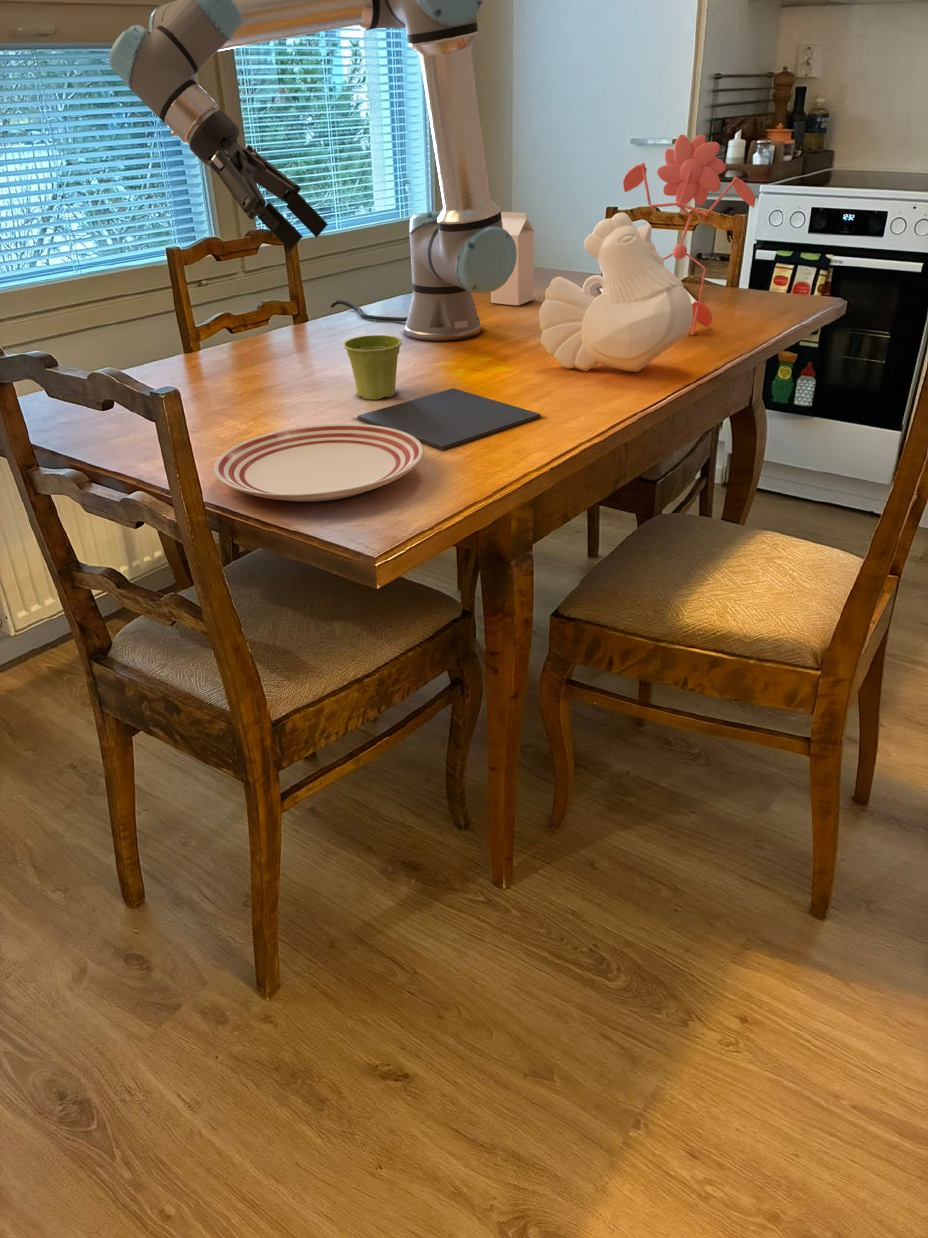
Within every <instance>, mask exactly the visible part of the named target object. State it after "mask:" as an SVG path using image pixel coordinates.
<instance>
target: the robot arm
mask: <svg viewBox="0 0 928 1238" xmlns="http://www.w3.org/2000/svg"><path fill="white" fill-rule="evenodd" d="M483 3H484V0H174V1H168V2H167V1H166V2H163V3H160V5H158V6H157V7H156V8H155V9H154V10H153V12H152V13H151V15H150V17H149V21H148V29H146V28H145V27H144V26H143V25H141V24H134V25H131V26H130V27H129V28H128V29H125V30H123V32H121V34H119V35H118V37H117V38H116V40H115V41H114V42H113V45H112V47H111V49H110V51H109V55H108V56H109V57H108V60H109V64H110V67H111V69H112V70H113V71H114V72H115V73H116V74H117V76H118V77H119V78H120V79H121V80H122V82H124V84H126V86H127V87H128V88H129V91H131V92H133V94H135V96H137V98H139V100H141V101H142V102H143V104H145V106H147V107H148V109H150V110H151V111H152V112H153V113H154V115H156V116H157V117H158V119H160V120H161V121H162V122H163V123H164V124H165V125H166V126H167V128H169V129H170V130H171V131H170V135H171V136H172V137H174V138H176V137H177V138H179V140H180V141H182V143H183V144H185V145H189V147H188V148H189V150H190V152H191V153H193V155H194V156H195V157H197V158H198V160H199V161H200V162H201V163H203V165H204V166H207V167H210V168H211V169H212V170H213V171H214V172H215V173H216V175H218V177H219V178H220V180H221V181H222V183H223V184H224V186H225V187H226V188H227V189H228V192H229V193H230V194H231V195H232V197H233V199H234V200H235V201H236V202H237V204H238V205H239V206H240V208H241V210H242V212H244V214H246V217H248V218H249V219H250V220H251V221H254V220H255V218H258V220H259V221H261V222H262V224H263V225H265V227H266V228H267V229H268V230H269V231H270V232H271V233H272V234H273V235H274V236H275V237H276V238H277V239H278V240H279V241H280V242H281V243H282V244H283V245H284V246H285V247H286V248H287V249H288V250H289V251H292V250H293V249H294V248H295V247H296V245H298V243H299V242H300V241H301V240H302V238H304V236H303V234H301V233H300V232H299V231H298V230H297V228H295V227H294V225H293V224H292V223H291V222H290V221H289V220H288V219H287V218H286V217H285V216H284V215H283V214H282V213H281V212H280V211H279V210H278V209H277V208H276V207H275V206H274V204H272V202H267V201H266V199H265V198H264V196H263V194H262V192H261V190H260V189H259V187H258V186H260V187H261V188H263V189H265V190H266V191H267V192H269V193H270V194H272V195H273V196H275V197H276V198H278V199H279V200H281V201H282V202H284V203H286V206H285V207H286V208H287V209H288V210H289V211H290V212H291V213H292V214H293V215H294V217H296V218H297V219H298V220H299V221H300V222H301V224H302V225H303V226H304V227H305V228H306V229H307V230H308V231H309V232H310V233H311V234H312V235H313V236H314V237H315V238H318V237H320V235H321V233H322V232H324V230H325V229H326V228H327V226H328V224H329V223H327V221H326V220H325V219H324V218H323V217H322V216H321V215H320V214H319V213H318V212H317V211H316V209H314V208H313V207H312V206H311V205H310V204H309V203H308V202H307V200H306V199H304V197H303V196H302V195H301V194H300V191H301V190H302V187H301V186H300V185H299V184H296V183H295V182H294V181H292V180H291V178H289V177H287V176H286V175H285V174H284V173H283V172H281V171H280V170H278V168H277V167H275V166H274V165H273V164H272V163H270V162H269V161H267V159H265V158H264V157H263V156H262V155H260V153H258V151H256V150H255V149H254V148H253V146H252V145H250V144H247V145H246V146H245V147H243V146H242V145H240V144H239V143H238V138H239V136H240V132H241V131H240V130H241V129H240V127H239V125H238V124H236V122H235V121H234V120H233V119H232V118H231V117H230V116H229V115H228V114H227V113H226V112H225V111H224V110H220V107H219V104H218V103H217V102H216V101H215V100H214V99H213V98H212V97H211V96H210V95H209V94H208V93H207V91H206V90H204V89H203V88H202V86H201V85H199V83H197V82H196V80H194V79H193V77H194V76H195V75H196V74H198V72H199V70H201V68H203V67H204V66H205V64H206V63H207V62H208V61H210V59H211V58H213V57H214V55H215V54H216V53H217V52H221V51H225V50H231V49H236V48H241V47H246V46H247V47H249V46H253V45H257V44H263V43H268V42H275V41H280V40H284V39H285V40H286V39H289V38H296V37H300V36H306V35H311V34H317V33H322V32H327V31H332V30H337V29H343V28H349V27H355V26H356V27H357V28H358V29H359V30H361V31H363V32H365V31H371V30H376V29H405V31H406V37H407V44H408V47H409V48H411V50H413V51H414V52H415V53H416V54H417V55H418V56H419V61H420V67H421V73H422V80H423V86H424V87H423V88H424V93H425V99H426V106H427V111H428V118H429V123H430V125H429V126H430V131H431V136H432V144H433V150H434V154H435V155H434V156H435V163H436V168H437V174H438V182H439V187H440V195H441V201H442V210H440V211H429V212H419V213H413V214H412V216H411V217H410V219H409V231H408V237H409V247H410V248H409V249H410V264H411V267H410V268H411V283H412V296H411V301H410V304H409V310H408V315H407V316H401V317H400V316H379V315H371V314H367V313H364V311H363V310H362V308H361V307H359V306H357V305H354V304H353V303H350V302H348V301H346V300H342V299H337V300H334V301H332V302H331V304H330V305H329V308H334V307H336V306H337V305H344V306H345V307H348V308H350V309H352V310H354V311H357V312H358V315H359V316H360V317H361V318H364V319H367V320H372V321H380V322H381V321H383V322H405V326H404V328H405V335H406V336H408V337H409V338H412V339H416V340H421V341H429V342H448V341H449V342H450V341H457V340H464V339H469V338H472V337H475V336H477V335H479V334H480V333H481V331H482V330H481V320H480V319H481V318H480V317H479V315H478V311H477V308H476V305H475V301H474V298H473V295H472V293H478V294H489V293H491V292H493V291H495V290H497V289H499V288H500V287H501V286H503V285H504V284H505V283H506V282H507V280H508V278H509V277H510V275H511V274H512V273H513V270H514V268H515V264H516V259H517V249H516V245H515V242H514V240H513V238H512V236H511V235H510V234H509V233H508V232H507V231H506V230H505V229H503V226H502V218H501V212H502V210H501V207H500V206H499V205H498V204H497V203H495V202H494V201H493V200H492V198H491V193H490V185H489V178H488V177H489V175H488V170H487V162H486V154H485V146H484V138H483V131H482V124H481V123H482V122H481V116H480V109H479V108H480V107H479V99H478V92H477V85H476V77H475V69H474V63H473V56H472V55H473V54H472V45H473V43H474V41H475V40H476V38H477V36H478V34H479V29H478V22H477V21H478V19H477V15H478V13H479V11H480V9H481V6H482V4H483Z"/></svg>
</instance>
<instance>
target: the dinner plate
mask: <svg viewBox="0 0 928 1238" xmlns="http://www.w3.org/2000/svg"><path fill="white" fill-rule="evenodd" d="M424 451H425V449H424V445H423V444H422V442H419V440H417V439H416V438H415V437H413V436H412V435H410V434H407V433H405V432H402V431H399V430H396V429H392V428H387V427H382V426H375V425H372V424H362V423H327V424H313V425H305V426H297V427H290V428H286V429H281V430H277V431H273V432H269V433H265V434H262V435H259V436H256V437H252V438H250V439H247V440H245V441H242V442H240V443H238V444H236V445H234V446H232V447H231V448H229V449H227V450H226V451H224V452H223V453H222V454H221V455H220V456H219V457H218V458H217V459H216V460H215V462H214V465H213V474H214V476H215V478H216V479H217V480H218V481H219V482H220V483H222V484H224V485H225V486H227V487H230V488H231V489H234V490H236V491H239V492H241V493H244V494H247V495H250V496H255V497H259V498H265V499H270V500H278V501H288V502H294V503H295V502H297V503H317V502H327V501H328V502H329V501H336V500H341V499H345V498H350V497H354V496H357V495H360V494H364V493H366V492H368V491H369V492H370V491H372V490H375V489H378V488H380V487H383V486H385V485H386V486H387V485H388V484H390V483H392V482H394V481H396V480H398V479H400V478H401V477H403V476H405V475H407V474H408V473H409V472H411V471H413V469H414V468H416V467H417V465H418V464H419V463H420V462H421V461H422V458H423V457H424V453H425V452H424Z"/></svg>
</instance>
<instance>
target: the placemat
mask: <svg viewBox="0 0 928 1238" xmlns="http://www.w3.org/2000/svg"><path fill="white" fill-rule="evenodd" d="M541 416H542V415H541V413H538V412H535V411H531V410H528V409H525V408H522V407H519V406H515V405H512V404H508V403H505V402H502V401H499V400H495V399H491V398H488V397H486V396H485V397H484V396H481V395H478V394H474V393H471V392H467V391H465V390H461V389H458V388H455V387H452V388H449V389H445V390H441V391H439V392H434V393H432V394H428V395H425V396H421V397H418V398H414V399H411V400H407V401H403V402H400V403H397V404H393V405H390V406H386V407H383V408H378V409H376V410H372V411H369V412H365V413H362V414H358V415H357V418H356V419H357V420H359V421H361V422H364V423H367V424H368V425H374V426H382V427H387V428H392V429H396V430H399V431H402V432H405V433H407V434H410V435H412V436H413V437H415V438H416V439H417V440H419V442H420V443H421V444H422V443H423V444H424V445H427V446H431V447H433V448H436V449H438V450H441V451H444V450H447V449H451V448H454V447H456V446H459V445H460V446H461V445H463V444H465V443H469V442H472V441H475V440H477V439H481V438H484V437H486V436H490V435H493V434H497V433H499V432H501V431H505V430H507V429H510V428H513V427H516V426H520V425H522V424H526V423H528V422H531V421H535V420H537V419H540V418H541Z"/></svg>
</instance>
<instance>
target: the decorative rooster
mask: <svg viewBox="0 0 928 1238" xmlns="http://www.w3.org/2000/svg"><path fill="white" fill-rule="evenodd" d="M652 229H653V227H652V225H651V224H646V225H642V226H639V227H638V226H635V225H634V223H633V221H632V219H631V217H630V216H629V214H627V213H626V212H623V211H622V212H621V211H620V212H617V213H615V214H613V216H612V217H611V218H604V219H602V220H600V221H598V223H597V224H596V225H595V226H594V228H593V230H592V233H590V234H588V235H587V236H586V237H585V239H584V243H583V247H584V251H586V253H587V254H588V255H590V256H591V257H592V258H594V259H596V260H597V262H598V265H599V268H600V272H601V274H602V275H601V274H594V275H591V276H589V277H587V279H585V280H584V283H583V284H582V288H581V287H580V286H579V285H577V284H576V283H575V282H573V281H571V280H569V279H567V278H565V277H562V276H556V277H554V278H553V279H551V281H550V283H549V286H548V287H547V288H546V289H545V291H544V298H545V300H544V301H543V302H542V303H541V305H540V308H539V311H538V318H539V329H540V330H541V334H540V345H541V346H542V347H543V348H544V349H545V350H546V352H547V353H548V355H550V356H551V357H553V358H554V360H555V361H557V362H558V363H559V364H560V366H562V367H563V368H565V369H574V368H577V369H578V370H580V371H583V372H588V371H590V369H594V368H595V367H597V366H599V364H600V365H603V366H606V367H608V368H609V367H610V368H612V369H616V370H621V371H625V372H634V373H636V372H637V373H638V372H639V371H641V370H642V369H644V368H645V367H646V366H648V365H649V364H650V363H651V362H653V361H654V360H655V359H657V358H658V357H660V355H662V354H663V353H664V352H666V351H667V350H669V349H670V348H671V347H673V346H675V345H676V344H677V343H679V342H680V341H682V340H683V339H685V338H686V337H687V336H688V334H689V332H690V329H691V327H692V324H693V319H694V318H693V317H694V316H693V308H692V303H691V300H690V297H689V295H688V293H689V292H688V290H687V289H686V288H685V287H684V284H683V282H682V281H681V280H680V279H679V278H678V276H676V275H675V274H674V273H673V272H671V271H670V270H669V269H668V268H667V267H666V266H665V261H664V260H662V259H663V258H662V257H661V255H660V254H659V252H658V251H657V249H656V246H655V244H654V242H653V241H652V239H651V238H652ZM594 284H599V285H601V287H602V288H603V292H602V293H600V294H599V295H597V296H594V295H592V293H591V287H592V286H593V285H594ZM685 289H686V290H685ZM687 292H688V293H687Z"/></svg>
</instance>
